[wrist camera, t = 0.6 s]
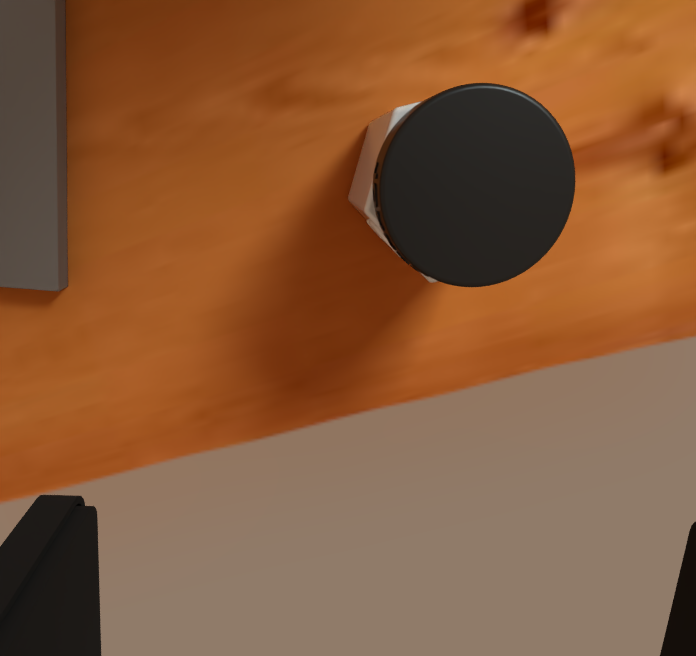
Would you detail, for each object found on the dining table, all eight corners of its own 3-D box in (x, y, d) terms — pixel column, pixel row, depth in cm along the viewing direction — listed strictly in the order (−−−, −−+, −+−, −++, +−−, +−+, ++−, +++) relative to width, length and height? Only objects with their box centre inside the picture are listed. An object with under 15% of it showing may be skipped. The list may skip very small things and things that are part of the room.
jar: (317, 173, 37) (328, 179, 25) (422, 69, 36) (483, 25, 24) (420, 283, 39) (474, 335, 27) (522, 188, 38) (622, 200, 26)
